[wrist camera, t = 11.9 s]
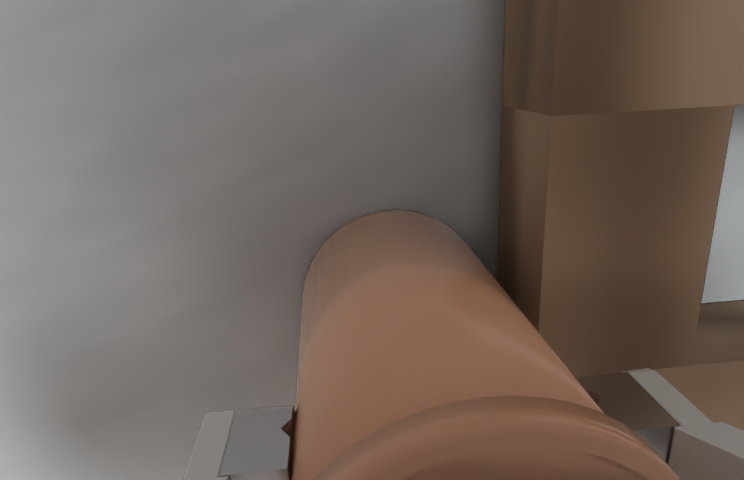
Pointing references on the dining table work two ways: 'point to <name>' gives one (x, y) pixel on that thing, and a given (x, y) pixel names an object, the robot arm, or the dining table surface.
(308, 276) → the copper mug
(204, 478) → the robot arm
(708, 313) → the holder
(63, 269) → the dining table surface
